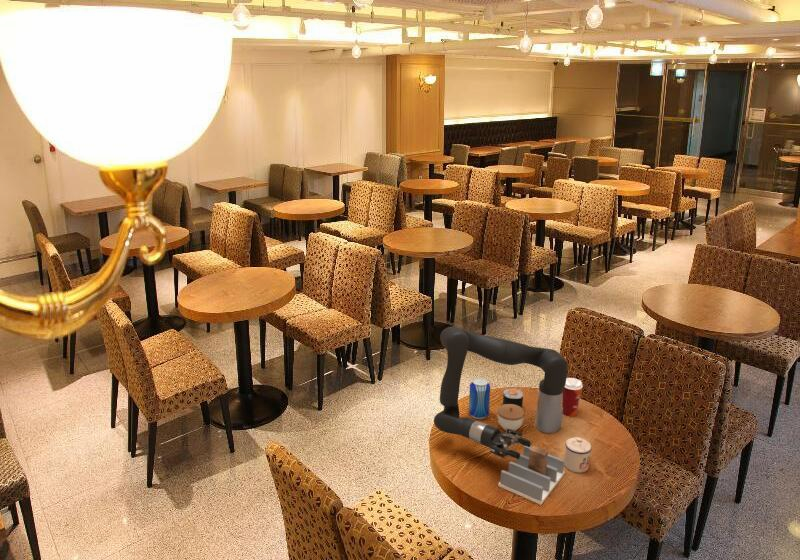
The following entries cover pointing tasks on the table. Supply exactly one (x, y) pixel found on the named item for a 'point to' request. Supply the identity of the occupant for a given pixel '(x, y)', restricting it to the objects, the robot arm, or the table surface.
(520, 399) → the sushi
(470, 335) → the robot arm
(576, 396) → the coffee cup
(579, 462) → the teacup with lid
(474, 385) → the beer can
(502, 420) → the lidded jar
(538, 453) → the walnut board
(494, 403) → the table surface
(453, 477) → the table surface
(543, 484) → the rack
